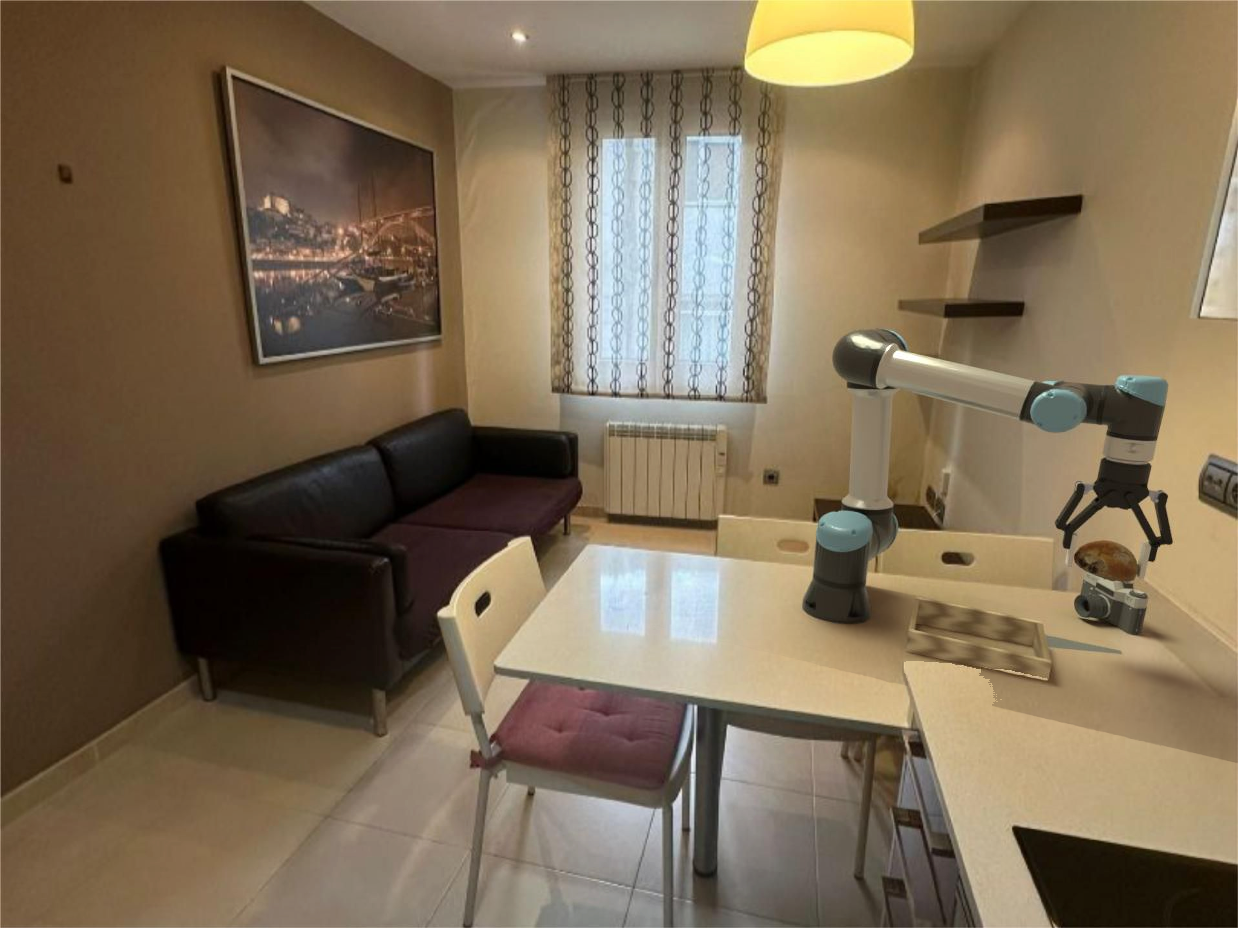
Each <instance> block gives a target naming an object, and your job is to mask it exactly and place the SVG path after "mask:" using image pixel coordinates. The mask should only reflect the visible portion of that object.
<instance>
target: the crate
mask: <svg viewBox="0 0 1238 928" xmlns="http://www.w3.org/2000/svg"><path fill="white" fill-rule="evenodd" d="M913 599H914V600H913V604H912V605H913V606H912V610H911V616H910V622H909V626H908V631H907V632H908V633H907V637H906V646H905V647H906V648H905V652H907V653H911V654H915V655H922V656H926V657H930V658H935V659H939V660H944V661H949V662H954V663H958V664H964V665H968V666H971V667H977V668H981V667H987V668H990V669H1004V670H1012V671H1015V672H1021V673H1024V674H1030V675H1032V676H1039V677H1042V678H1047V679H1048V680H1049V678H1050V673H1051V668H1052V663H1053V662H1052V658H1051V655H1050V650H1049V647H1048V645H1047V641H1046V636H1045V635H1046V632H1045V628H1044V624H1043V621H1041V620H1036V619H1030V618H1024V617H1021V616H1020V617H1019V616H1015V615H1011V614H1007V613H1006V614H1005V613H1002V612H995V611H991V610H986V609H980V608H976V607H971V606H966V605H960V604H956V603H951V602H946V601H940V600H936V599H935V600H934V599H932V598H931V599H930V598H925V597H922V596H921V597H920V596H917V595H916V596H914V598H913ZM917 625H920V626H921V625H923V626H927V627H932V628H937V629H942V630H948V631H953V632H958V633H964V634H969V635H974V636H979V637H984V638H989V639H994V640H997V641H998V640H1000V641H1004V642H1009V643H1015V644H1020V645H1024V646H1029V647H1032V649H1033V654H1034V655H1030V654H1029V655H1028V654H1024V653H1021V652H1015V651H1010V650H1007V649H1004V648H1003V649H1002V648H997V647H993V646H988V645H986V644H985V645H984V644H981V643H975V642H970V641H966V640H961V639H956V638H953V637H948V636H944V635H943V636H942V635H939V634H934V633H930V632H925V631H921V630H916V628H917ZM990 669H989V670H990Z"/></svg>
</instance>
